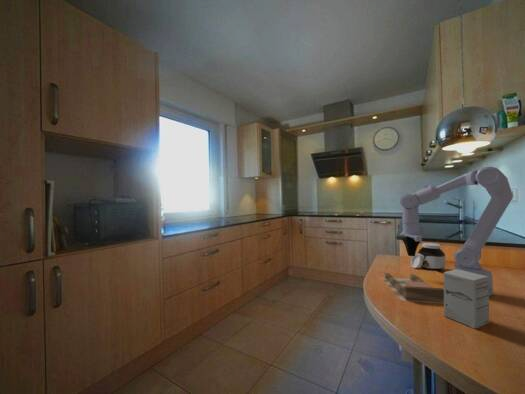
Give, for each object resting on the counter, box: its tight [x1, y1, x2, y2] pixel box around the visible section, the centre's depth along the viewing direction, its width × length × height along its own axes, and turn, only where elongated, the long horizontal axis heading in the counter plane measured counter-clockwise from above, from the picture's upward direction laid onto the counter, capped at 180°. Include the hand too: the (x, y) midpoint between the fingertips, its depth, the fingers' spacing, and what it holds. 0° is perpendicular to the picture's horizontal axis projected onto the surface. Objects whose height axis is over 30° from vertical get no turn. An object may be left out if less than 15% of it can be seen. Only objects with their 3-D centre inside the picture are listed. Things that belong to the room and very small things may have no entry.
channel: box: [381, 272, 444, 305], centre depth 83 cm, size 22×14×5 cm, turn 168°
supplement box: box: [443, 268, 490, 330], centre depth 63 cm, size 7×7×13 cm
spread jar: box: [410, 242, 447, 272], centre depth 108 cm, size 12×11×12 cm
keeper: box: [405, 281, 433, 288], centre depth 77 cm, size 5×6×4 cm
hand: (411, 255), depth 95 cm, fingers closed
